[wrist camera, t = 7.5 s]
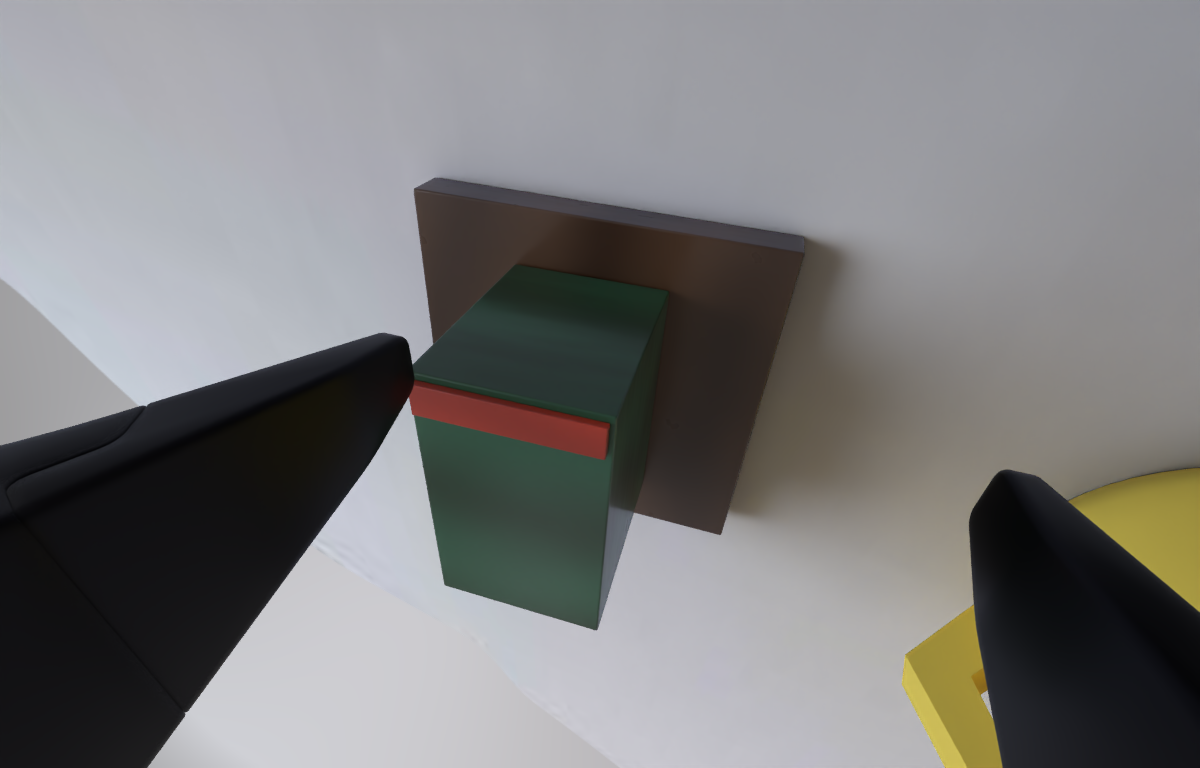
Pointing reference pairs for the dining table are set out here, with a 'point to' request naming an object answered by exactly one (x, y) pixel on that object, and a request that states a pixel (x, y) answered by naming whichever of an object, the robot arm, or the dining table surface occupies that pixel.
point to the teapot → (952, 655)
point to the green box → (540, 437)
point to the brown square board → (692, 328)
